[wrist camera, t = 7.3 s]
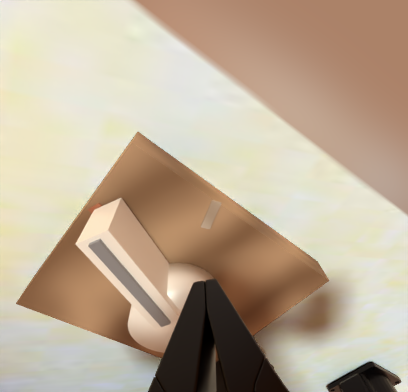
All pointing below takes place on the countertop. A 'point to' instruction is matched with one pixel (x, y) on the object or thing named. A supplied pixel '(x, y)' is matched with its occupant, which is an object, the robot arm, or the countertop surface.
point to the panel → (174, 249)
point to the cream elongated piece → (139, 272)
